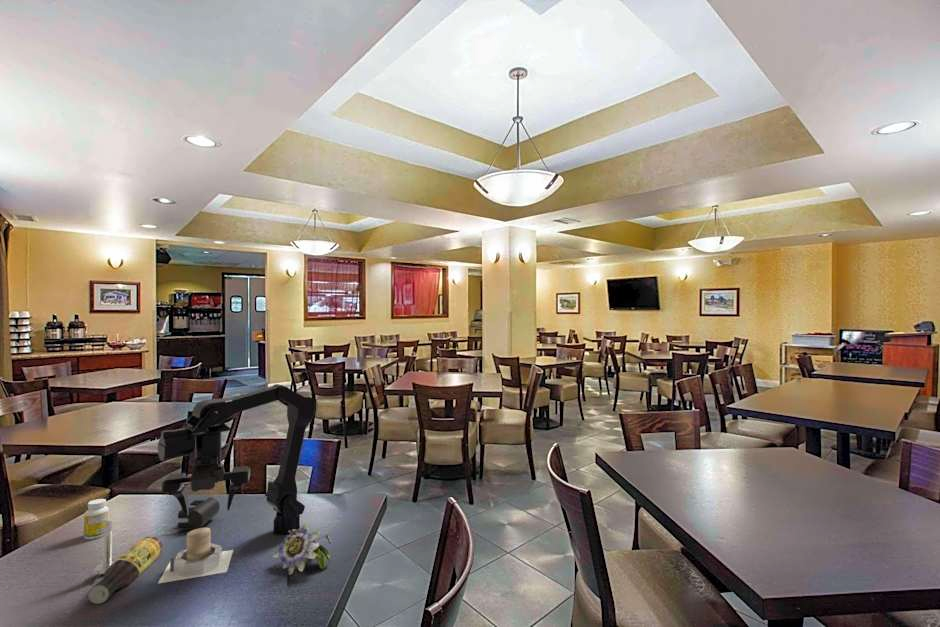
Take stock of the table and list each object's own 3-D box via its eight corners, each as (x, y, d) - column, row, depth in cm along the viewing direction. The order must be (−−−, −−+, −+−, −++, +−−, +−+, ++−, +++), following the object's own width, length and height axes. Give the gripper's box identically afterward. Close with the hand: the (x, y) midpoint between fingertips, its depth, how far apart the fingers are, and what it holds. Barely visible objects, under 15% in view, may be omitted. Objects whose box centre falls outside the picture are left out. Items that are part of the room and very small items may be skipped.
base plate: (233, 553, 117) (233, 549, 117) (226, 576, 106) (226, 571, 106) (171, 563, 112) (171, 559, 112) (157, 587, 101) (157, 583, 101)
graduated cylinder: (124, 569, 109) (110, 580, 104) (103, 569, 108) (88, 581, 104) (125, 516, 109) (111, 525, 104) (104, 516, 109) (89, 525, 104)
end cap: (202, 534, 127) (202, 510, 127) (176, 534, 127) (177, 510, 127) (219, 518, 137) (220, 496, 137) (196, 519, 137) (196, 497, 137)
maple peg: (211, 557, 112) (211, 526, 113) (209, 567, 108) (209, 534, 108) (188, 562, 110) (188, 530, 110) (185, 572, 106) (185, 538, 106)
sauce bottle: (169, 540, 114) (124, 587, 95) (155, 562, 114) (108, 615, 94) (144, 530, 113) (93, 576, 94) (130, 552, 113) (77, 603, 93)
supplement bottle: (104, 538, 124) (105, 503, 125) (80, 541, 122) (81, 506, 123) (111, 529, 129) (112, 496, 130) (88, 532, 127) (89, 499, 127)
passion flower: (291, 596, 108) (261, 558, 107) (311, 564, 118) (284, 529, 117) (326, 575, 105) (295, 536, 105) (343, 544, 116) (316, 508, 115)
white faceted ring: (223, 552, 115) (223, 540, 115) (216, 572, 106) (216, 559, 106) (176, 559, 112) (176, 547, 112) (165, 580, 103) (165, 567, 103)
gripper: (154, 465, 101) (154, 533, 101) (245, 456, 108) (245, 520, 108) (168, 451, 112) (168, 513, 112) (250, 443, 118) (250, 502, 118)
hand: (208, 512), depth 112 cm, fingers open, 9 cm apart
